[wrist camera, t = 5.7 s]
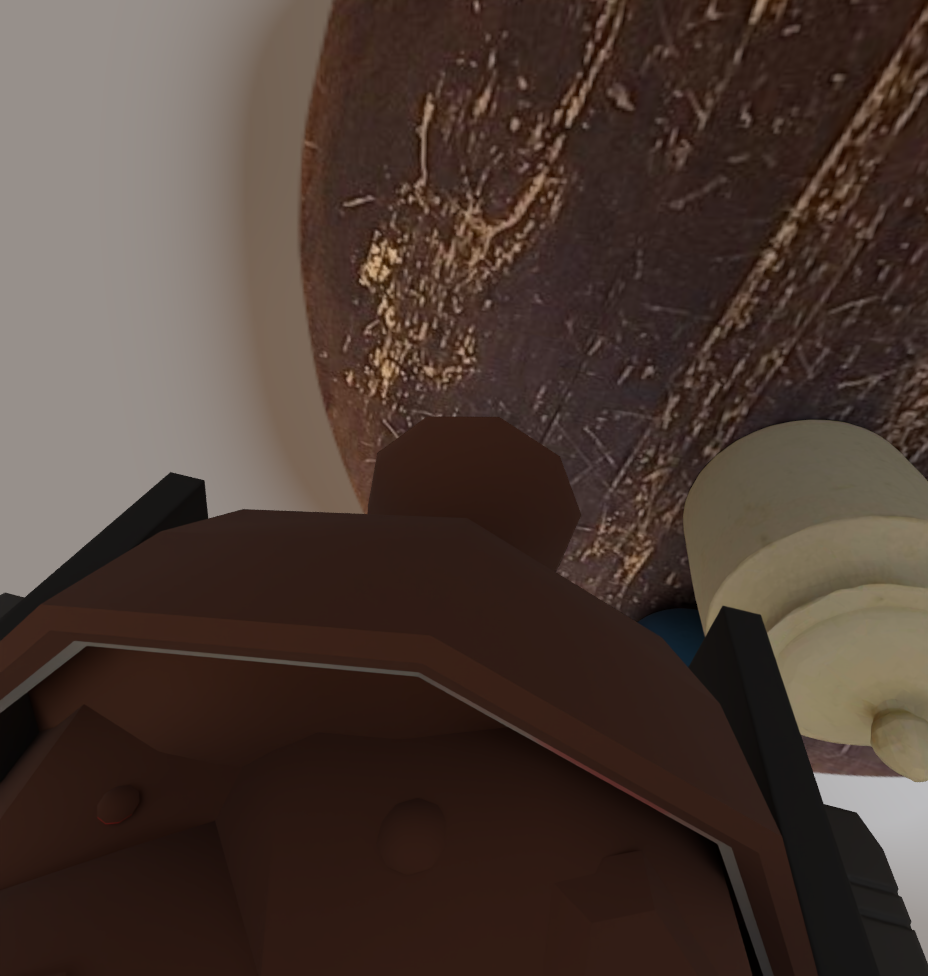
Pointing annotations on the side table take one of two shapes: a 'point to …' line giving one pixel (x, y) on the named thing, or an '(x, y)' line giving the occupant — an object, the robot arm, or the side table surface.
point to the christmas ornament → (677, 630)
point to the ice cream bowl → (377, 752)
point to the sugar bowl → (825, 576)
